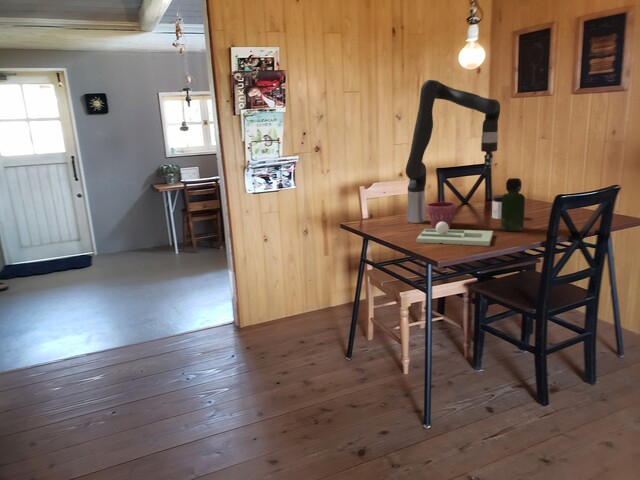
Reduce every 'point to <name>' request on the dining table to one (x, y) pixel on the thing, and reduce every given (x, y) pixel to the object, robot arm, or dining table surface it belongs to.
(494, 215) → the jar
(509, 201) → the dark green tall piece
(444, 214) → the plant pot
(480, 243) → the putting mat
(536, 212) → the dining table surface
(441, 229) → the ball
